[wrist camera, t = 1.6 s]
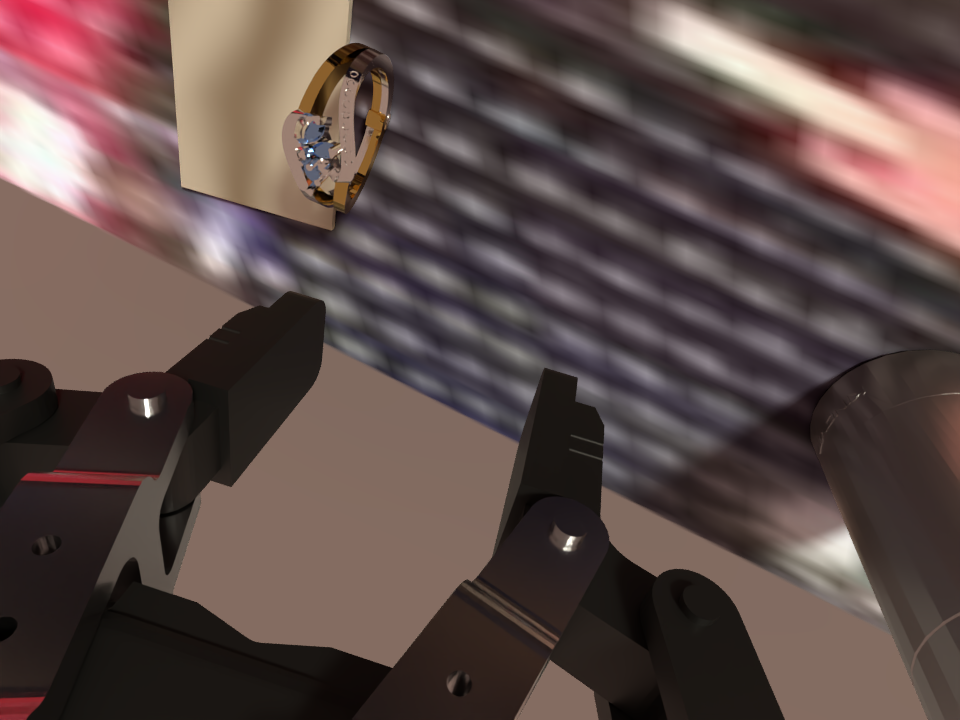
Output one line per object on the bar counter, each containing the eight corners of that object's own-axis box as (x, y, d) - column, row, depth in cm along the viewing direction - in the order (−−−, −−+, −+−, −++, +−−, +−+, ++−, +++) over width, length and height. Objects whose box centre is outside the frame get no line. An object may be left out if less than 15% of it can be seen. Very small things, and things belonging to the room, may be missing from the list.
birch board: (356, -47, 26) (353, -48, 25) (334, 228, 33) (331, 230, 33) (166, -98, 26) (161, -99, 26) (185, 184, 33) (181, 186, 33)
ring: (391, 194, 31) (329, 248, 25) (336, 169, 31) (258, 215, 24) (433, 59, 27) (372, 79, 21) (370, 29, 27) (289, 40, 21)
